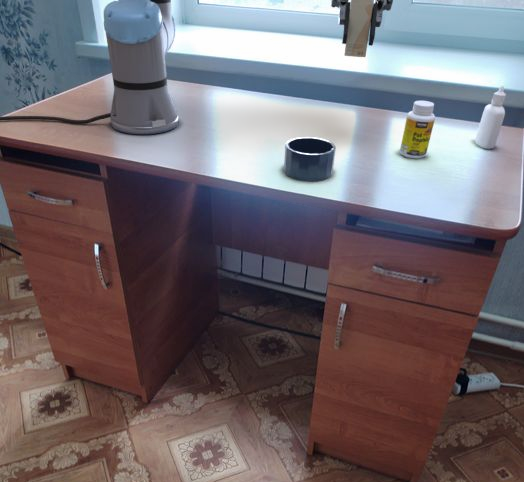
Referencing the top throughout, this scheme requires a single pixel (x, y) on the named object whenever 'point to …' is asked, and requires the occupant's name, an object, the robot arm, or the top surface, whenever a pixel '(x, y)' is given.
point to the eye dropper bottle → (491, 121)
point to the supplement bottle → (418, 130)
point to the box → (358, 27)
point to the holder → (309, 158)
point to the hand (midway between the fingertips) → (358, 39)
